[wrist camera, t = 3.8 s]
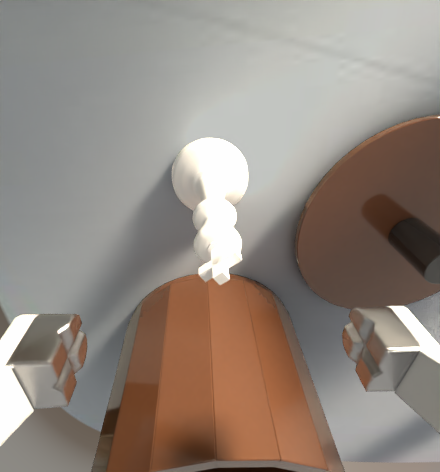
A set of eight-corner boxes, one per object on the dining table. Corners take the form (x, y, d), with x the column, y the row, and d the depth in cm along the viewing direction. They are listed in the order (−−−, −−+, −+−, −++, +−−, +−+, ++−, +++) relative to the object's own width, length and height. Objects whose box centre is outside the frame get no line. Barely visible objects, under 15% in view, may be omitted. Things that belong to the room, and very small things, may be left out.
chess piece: (155, 169, 18) (119, 269, 10) (219, 120, 17) (242, 188, 8) (202, 223, 20) (207, 342, 12) (261, 183, 19) (313, 286, 11)
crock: (177, 244, 21) (159, 434, 11) (320, 310, 26) (405, 485, 16) (104, 354, 27) (47, 545, 17) (231, 391, 32) (249, 557, 22)
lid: (419, 53, 16) (505, 53, 11) (550, 191, 21) (643, 227, 17) (250, 256, 22) (264, 306, 18) (383, 322, 28) (418, 372, 23)
